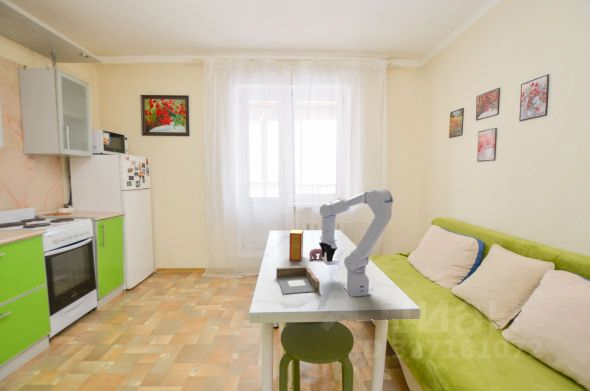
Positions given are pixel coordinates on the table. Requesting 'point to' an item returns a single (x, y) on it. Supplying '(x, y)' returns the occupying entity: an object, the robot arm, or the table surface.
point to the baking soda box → (296, 245)
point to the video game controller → (314, 252)
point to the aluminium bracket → (333, 262)
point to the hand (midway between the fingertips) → (327, 259)
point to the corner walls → (299, 274)
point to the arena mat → (295, 285)
